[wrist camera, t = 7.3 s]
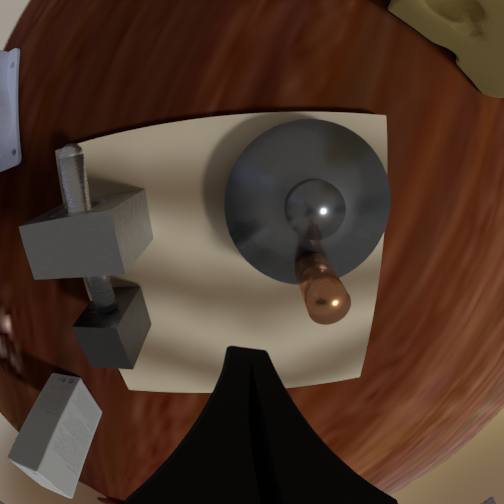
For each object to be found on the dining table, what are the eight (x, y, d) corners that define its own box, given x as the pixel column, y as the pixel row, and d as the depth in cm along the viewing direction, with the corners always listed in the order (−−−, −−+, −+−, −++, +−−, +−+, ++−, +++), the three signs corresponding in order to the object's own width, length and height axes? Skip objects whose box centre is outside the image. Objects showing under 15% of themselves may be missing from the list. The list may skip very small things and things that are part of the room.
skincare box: (51, 371, 23) (4, 456, 11) (81, 376, 23) (36, 472, 12) (75, 407, 25) (42, 487, 14) (104, 412, 25) (74, 500, 14)
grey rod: (71, 146, 14) (24, 155, 10) (113, 135, 14) (71, 138, 10) (114, 324, 19) (90, 366, 14) (151, 324, 19) (133, 369, 14)
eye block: (63, 203, 15) (18, 226, 11) (145, 189, 15) (110, 209, 11) (73, 247, 16) (34, 279, 12) (153, 238, 16) (125, 274, 12)
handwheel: (232, 280, 17) (229, 332, 13) (219, 123, 14) (208, 116, 9) (374, 269, 17) (410, 312, 13) (382, 124, 14) (433, 124, 9)
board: (63, 149, 15) (55, 150, 14) (378, 116, 15) (385, 115, 14) (131, 381, 23) (129, 389, 22) (356, 369, 23) (359, 376, 22)
